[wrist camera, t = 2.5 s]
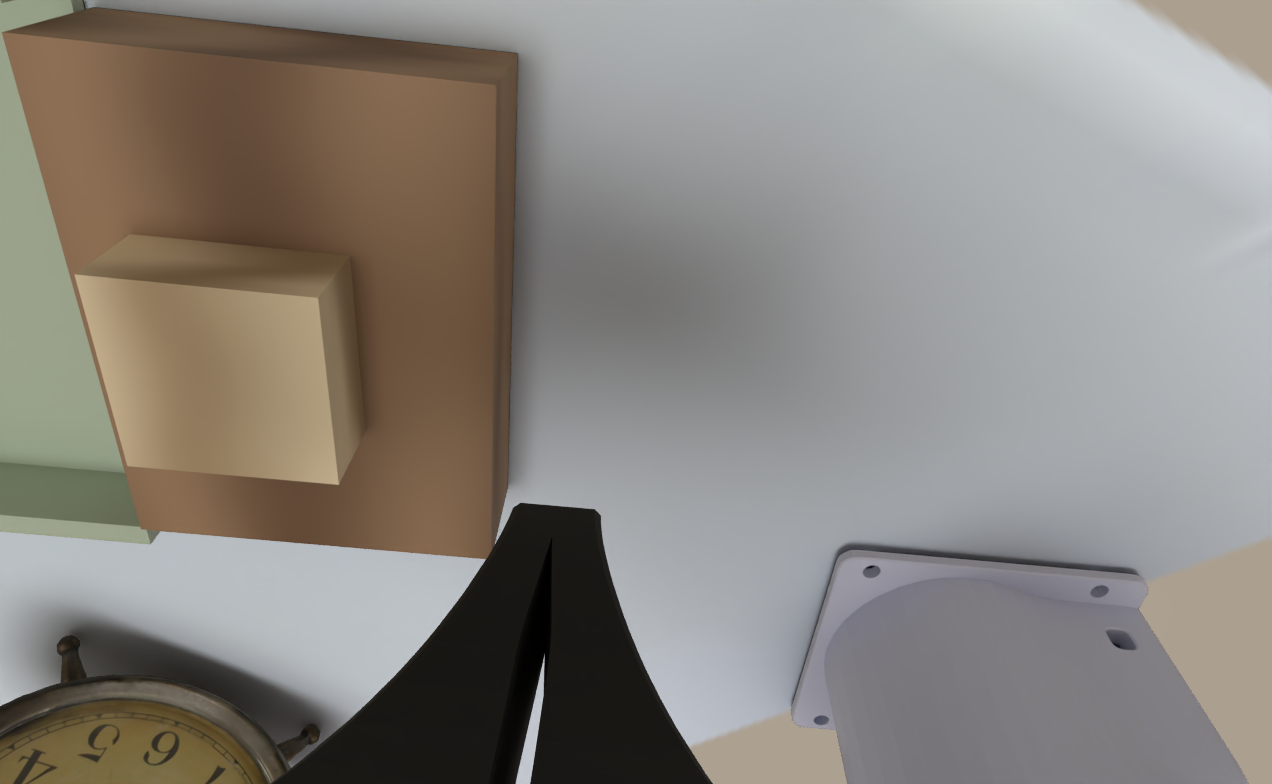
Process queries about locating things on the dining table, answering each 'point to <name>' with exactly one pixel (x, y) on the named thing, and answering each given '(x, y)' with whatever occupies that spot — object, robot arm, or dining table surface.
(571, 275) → the dining table surface
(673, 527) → the dining table surface
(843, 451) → the dining table surface
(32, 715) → the alarm clock
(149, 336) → the maple tile
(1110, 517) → the dining table surface
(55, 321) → the sage tray
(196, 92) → the walnut board
